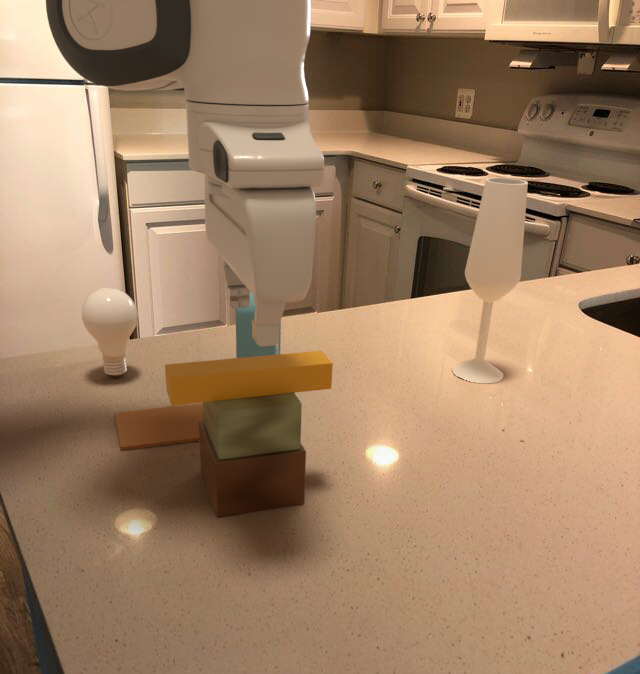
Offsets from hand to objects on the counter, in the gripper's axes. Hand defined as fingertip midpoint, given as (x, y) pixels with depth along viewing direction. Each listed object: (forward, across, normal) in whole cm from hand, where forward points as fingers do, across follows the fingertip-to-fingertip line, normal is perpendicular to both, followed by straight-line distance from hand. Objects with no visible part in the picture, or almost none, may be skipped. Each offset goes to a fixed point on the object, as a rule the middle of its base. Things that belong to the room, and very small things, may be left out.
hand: (251, 323), depth 59 cm
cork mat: (+16, -14, -4) cm, 22 cm away
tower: (+16, 0, 0) cm, 16 cm away
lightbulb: (+16, -29, -10) cm, 35 cm away
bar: (+6, 0, 0) cm, 6 cm away
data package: (+16, -24, +7) cm, 30 cm away
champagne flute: (+16, -19, +35) cm, 43 cm away
